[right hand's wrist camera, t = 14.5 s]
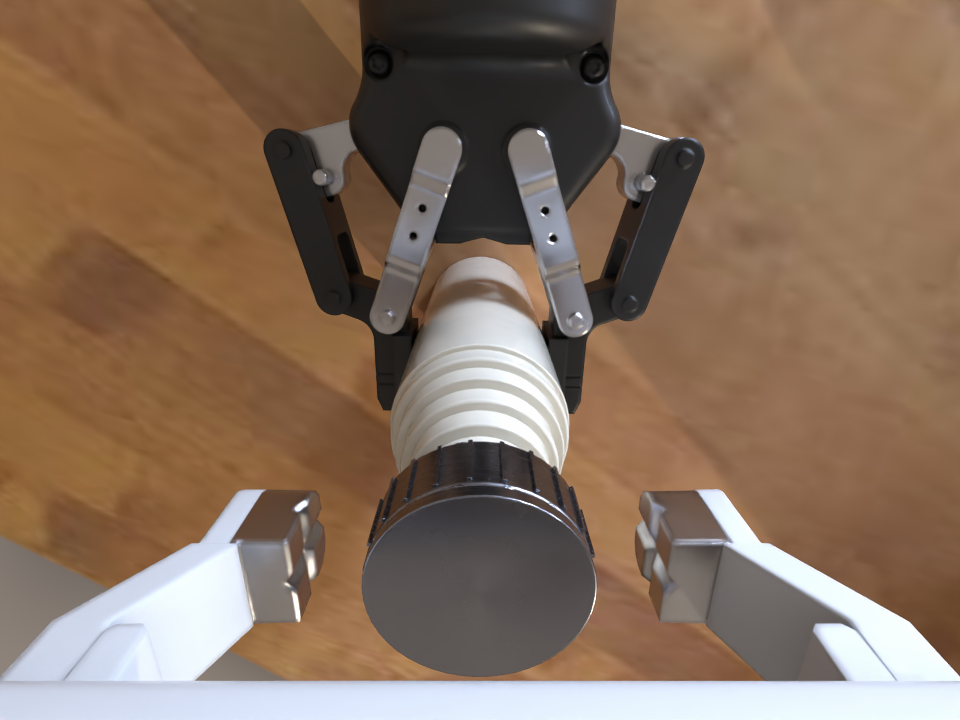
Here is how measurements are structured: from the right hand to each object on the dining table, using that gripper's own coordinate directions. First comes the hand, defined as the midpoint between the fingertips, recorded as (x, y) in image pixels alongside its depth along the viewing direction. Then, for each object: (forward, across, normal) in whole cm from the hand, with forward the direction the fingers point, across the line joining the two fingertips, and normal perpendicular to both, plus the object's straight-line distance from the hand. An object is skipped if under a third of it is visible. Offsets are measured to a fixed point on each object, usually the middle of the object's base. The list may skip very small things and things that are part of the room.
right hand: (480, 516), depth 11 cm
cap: (-2, 0, 0) cm, 2 cm away
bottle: (+16, 0, 0) cm, 16 cm away
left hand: (+10, 0, -3) cm, 10 cm away
